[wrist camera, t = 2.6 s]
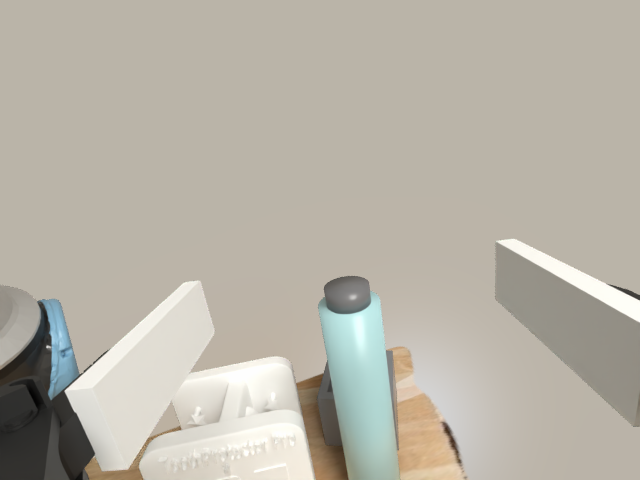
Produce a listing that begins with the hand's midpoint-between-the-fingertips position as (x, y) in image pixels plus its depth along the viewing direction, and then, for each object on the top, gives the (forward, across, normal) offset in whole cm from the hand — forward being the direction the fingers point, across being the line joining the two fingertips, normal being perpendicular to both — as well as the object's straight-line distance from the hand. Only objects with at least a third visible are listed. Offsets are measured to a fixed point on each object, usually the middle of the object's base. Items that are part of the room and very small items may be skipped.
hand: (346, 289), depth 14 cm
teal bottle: (+10, 0, -28) cm, 30 cm away
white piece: (+13, -14, -28) cm, 34 cm away
